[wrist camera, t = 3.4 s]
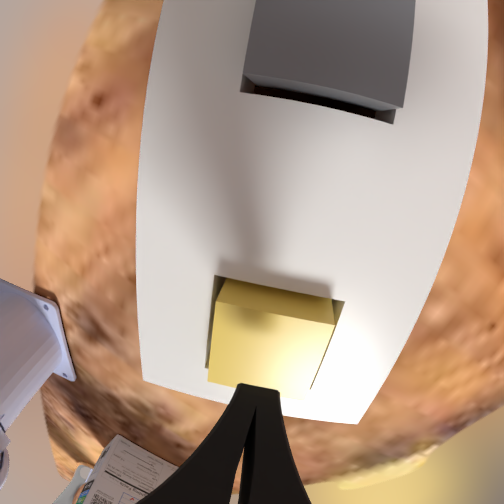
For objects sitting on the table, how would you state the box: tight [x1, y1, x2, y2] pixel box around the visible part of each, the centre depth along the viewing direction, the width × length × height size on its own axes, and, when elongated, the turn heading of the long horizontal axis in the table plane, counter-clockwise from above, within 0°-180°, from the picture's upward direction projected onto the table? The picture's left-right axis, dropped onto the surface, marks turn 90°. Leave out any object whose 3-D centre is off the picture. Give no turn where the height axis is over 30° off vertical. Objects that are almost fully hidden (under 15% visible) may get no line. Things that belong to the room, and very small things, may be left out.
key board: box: [136, 0, 488, 424], centre depth 12 cm, size 12×22×3 cm, turn 171°
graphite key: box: [243, 0, 416, 111], centre depth 8 cm, size 4×4×3 cm
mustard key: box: [207, 278, 335, 401], centre depth 13 cm, size 4×4×3 cm
